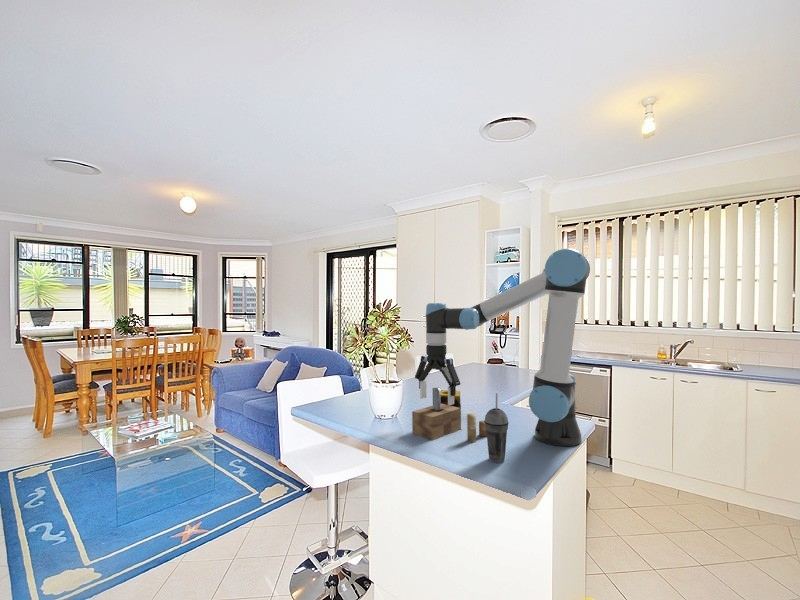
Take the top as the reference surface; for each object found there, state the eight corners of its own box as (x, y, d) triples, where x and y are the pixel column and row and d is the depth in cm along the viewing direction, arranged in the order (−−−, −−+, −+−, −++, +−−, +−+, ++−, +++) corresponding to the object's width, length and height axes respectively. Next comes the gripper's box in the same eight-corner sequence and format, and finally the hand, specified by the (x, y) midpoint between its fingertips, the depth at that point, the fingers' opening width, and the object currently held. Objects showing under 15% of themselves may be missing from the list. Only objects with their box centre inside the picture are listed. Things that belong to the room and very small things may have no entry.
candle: (460, 420, 157) (460, 396, 157) (435, 419, 159) (435, 395, 159) (461, 413, 167) (461, 390, 167) (438, 412, 169) (437, 389, 169)
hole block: (460, 429, 146) (460, 408, 146) (432, 440, 135) (432, 417, 135) (440, 423, 154) (440, 403, 154) (412, 433, 143) (412, 411, 143)
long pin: (442, 431, 144) (442, 388, 145) (437, 433, 142) (436, 389, 142) (436, 429, 147) (436, 387, 147) (431, 431, 145) (430, 388, 145)
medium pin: (477, 440, 134) (477, 414, 134) (472, 443, 132) (472, 416, 132) (470, 438, 136) (470, 413, 136) (465, 440, 134) (465, 414, 134)
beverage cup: (482, 462, 116) (482, 396, 116) (486, 453, 123) (485, 390, 123) (508, 466, 113) (507, 398, 113) (510, 457, 120) (509, 392, 120)
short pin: (489, 435, 139) (489, 421, 139) (484, 437, 137) (484, 423, 137) (482, 433, 141) (482, 420, 141) (477, 435, 139) (477, 421, 139)
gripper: (469, 345, 138) (470, 405, 138) (418, 341, 156) (419, 393, 156) (456, 347, 133) (457, 409, 133) (405, 342, 151) (406, 397, 151)
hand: (436, 401), depth 145 cm, fingers open, 13 cm apart
